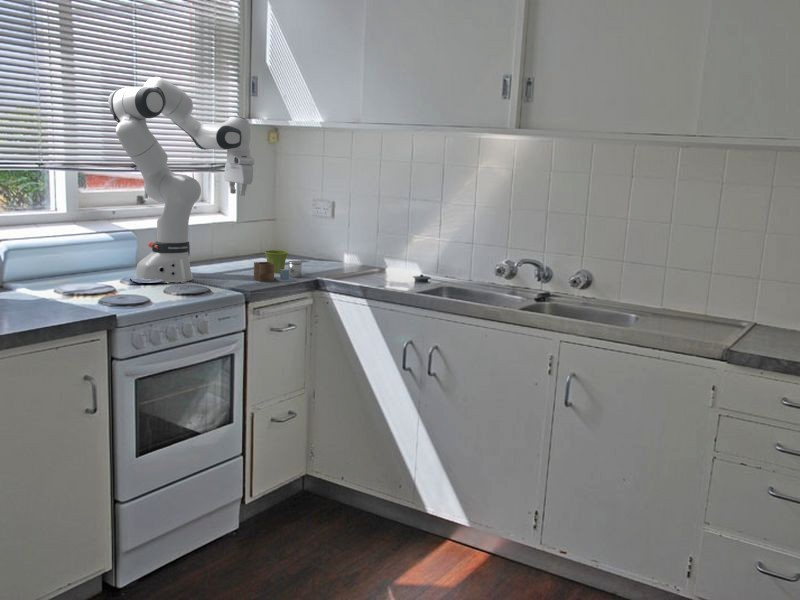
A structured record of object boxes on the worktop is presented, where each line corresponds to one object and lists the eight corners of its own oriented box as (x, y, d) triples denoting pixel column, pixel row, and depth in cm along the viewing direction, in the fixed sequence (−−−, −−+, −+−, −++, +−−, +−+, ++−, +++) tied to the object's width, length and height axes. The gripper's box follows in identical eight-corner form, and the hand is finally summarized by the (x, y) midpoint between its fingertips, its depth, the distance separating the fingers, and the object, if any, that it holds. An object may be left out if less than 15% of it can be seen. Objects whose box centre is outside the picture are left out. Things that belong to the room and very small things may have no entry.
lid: (280, 284, 315) (280, 271, 314) (272, 281, 320) (272, 268, 320) (296, 283, 319) (296, 270, 318) (288, 280, 324) (288, 267, 323)
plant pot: (290, 272, 342) (290, 250, 340) (284, 275, 333) (285, 254, 331) (267, 270, 343) (267, 249, 341) (261, 274, 333) (261, 252, 332)
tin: (291, 279, 325) (292, 263, 324) (285, 277, 329) (286, 261, 328) (303, 278, 328) (304, 262, 327) (297, 276, 332) (298, 260, 331)
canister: (260, 283, 314) (260, 264, 313) (253, 280, 319) (254, 262, 317) (273, 282, 317) (274, 263, 316) (267, 279, 322) (267, 261, 321)
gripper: (220, 157, 339) (220, 192, 341) (240, 159, 322) (240, 196, 325) (235, 158, 342) (234, 192, 345) (256, 160, 326) (255, 196, 328)
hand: (237, 194), depth 335 cm, fingers open, 8 cm apart
